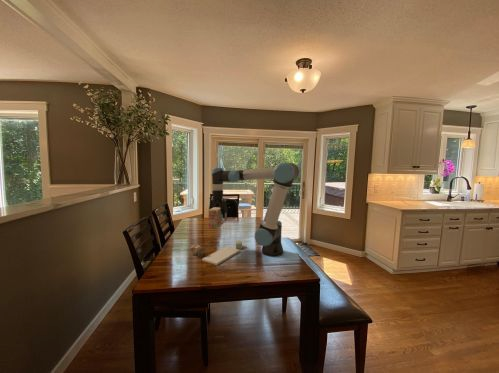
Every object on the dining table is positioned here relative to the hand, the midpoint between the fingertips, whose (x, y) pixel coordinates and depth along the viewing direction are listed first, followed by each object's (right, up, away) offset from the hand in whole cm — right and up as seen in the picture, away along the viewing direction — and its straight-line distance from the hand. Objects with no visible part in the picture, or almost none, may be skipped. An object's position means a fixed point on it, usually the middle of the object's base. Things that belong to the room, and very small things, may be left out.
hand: (218, 221), depth 162 cm
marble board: (+4, -22, -8) cm, 24 cm away
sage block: (+15, -20, +8) cm, 26 cm away
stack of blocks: (0, -2, +1) cm, 2 cm away
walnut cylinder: (-10, -22, -9) cm, 26 cm away
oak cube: (-15, -21, -5) cm, 27 cm away
